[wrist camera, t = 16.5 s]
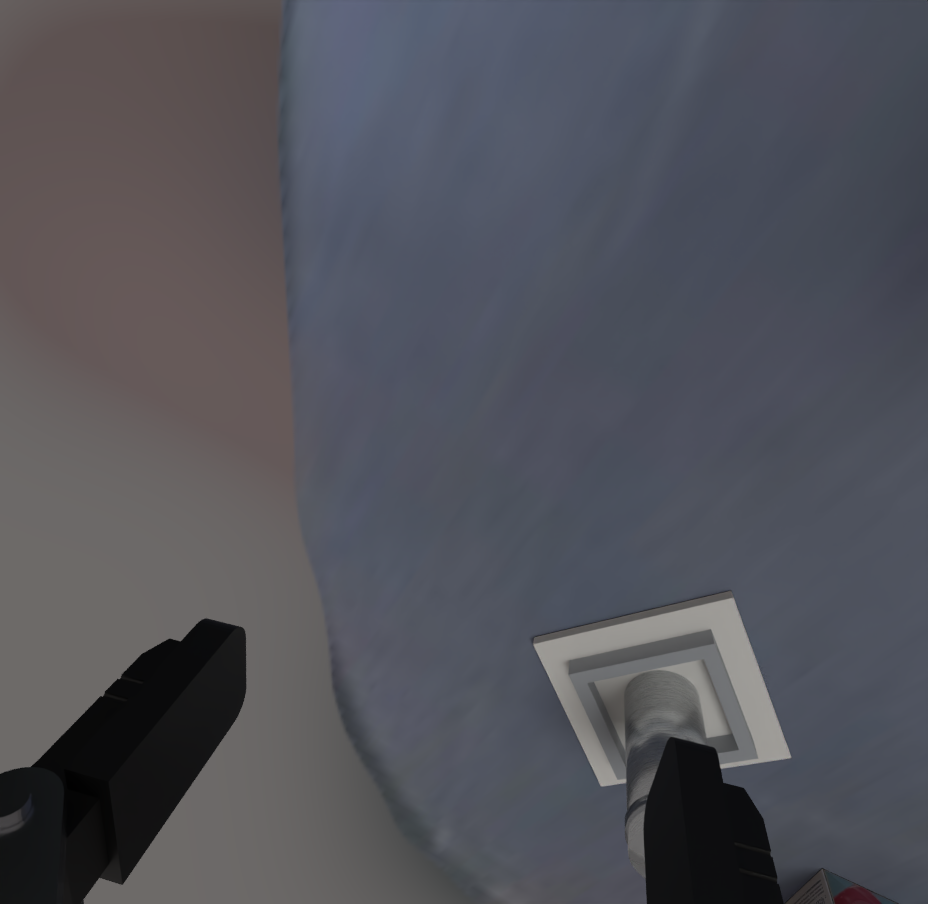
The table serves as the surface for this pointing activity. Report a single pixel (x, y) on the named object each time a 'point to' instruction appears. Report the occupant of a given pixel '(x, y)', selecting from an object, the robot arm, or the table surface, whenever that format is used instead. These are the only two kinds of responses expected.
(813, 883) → the juice carton
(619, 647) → the duct flange
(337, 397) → the table surface
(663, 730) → the grey canister
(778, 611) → the table surface
